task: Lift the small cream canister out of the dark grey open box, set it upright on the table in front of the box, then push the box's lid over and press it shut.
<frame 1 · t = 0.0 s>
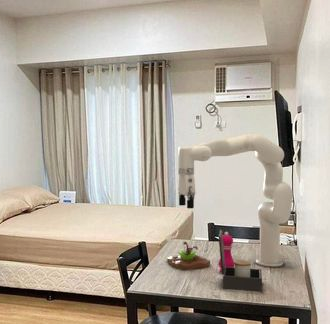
hand: (186, 206, 234), 31 cm above the table, tool pointing down, fingers open, 9 cm apart
dark grey open box: (242, 286, 209), on the table
canister: (242, 284, 209), point 1 cm above the table, touching dark grey open box
brewer lid: (222, 251, 210), point 15 cm above the table, hinge at 95.0°
plant: (187, 264, 246), on the table
pepper mill: (226, 273, 229), on the table
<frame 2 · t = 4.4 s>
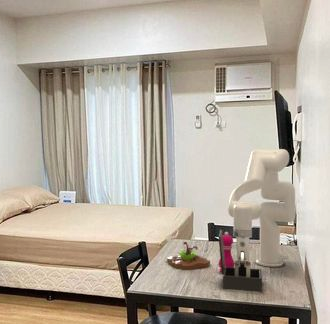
hand: (242, 273, 208), 6 cm above the table, tool pointing down, fingers closed on canister, 6 cm apart
canister: (242, 284, 209), point 1 cm above the table, touching dark grey open box, gripper
everything else where it was.
when the fingers open (5 cm above the table, at t = 11.8 s): canister stays where it is, on the table.
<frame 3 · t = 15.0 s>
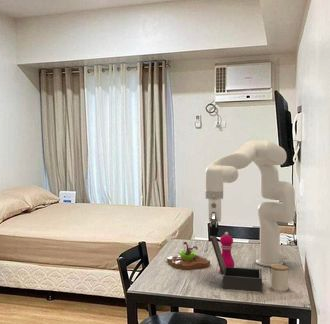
hand: (214, 233, 211), 23 cm above the table, tool pointing down, fingers open, 9 cm apart
canister: (279, 289, 204), on the table
brewer lid: (218, 252, 211), point 15 cm above the table, hinge at 107.1°
everything else where it was.
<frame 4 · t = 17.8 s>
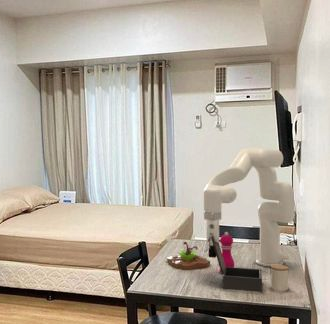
hand: (212, 256, 212), 12 cm above the table, tool pointing down, fingers closed
brewer lid: (218, 252, 211), point 15 cm above the table, hinge at 105.7°, touching gripper
everything else where it was.
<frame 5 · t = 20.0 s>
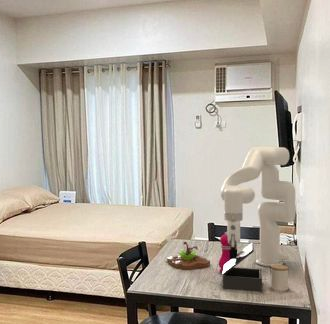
hand: (233, 258, 209), 12 cm above the table, tool pointing down, fingers closed
brewer lid: (238, 258, 208), point 12 cm above the table, hinge at 42.6°
everything else where it was.
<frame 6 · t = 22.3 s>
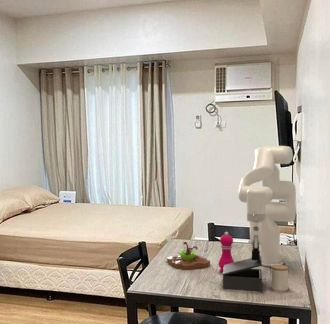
hand: (255, 259, 206), 12 cm above the table, tool pointing down, fingers closed
brewer lid: (242, 265, 208), point 9 cm above the table, hinge at 19.2°
everything else where it was.
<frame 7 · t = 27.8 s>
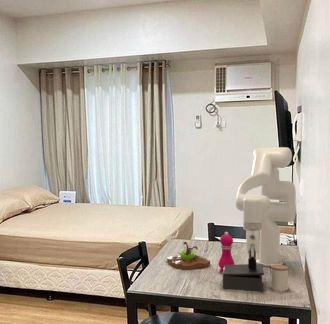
hand: (252, 268, 207), 9 cm above the table, tool pointing down, fingers closed
brewer lid: (243, 269, 208), point 8 cm above the table, hinge at 5.8°, touching gripper
everything else where it was.
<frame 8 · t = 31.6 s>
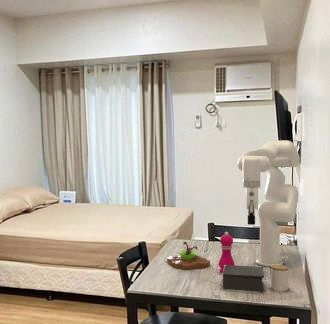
hand: (251, 224, 219), 25 cm above the table, tool pointing down, fingers closed
brewer lid: (243, 271, 208), point 7 cm above the table, hinge at 1.1°
everything else where it was.
at the end: canister inside the target area (0.1 cm from its centre), on the table; canister tilted 0°; brewer lid at +1° (first picture: +95°) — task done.
